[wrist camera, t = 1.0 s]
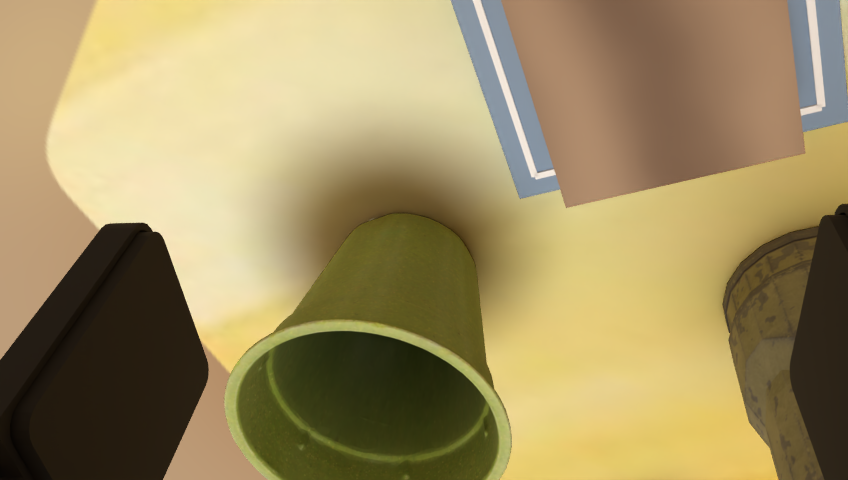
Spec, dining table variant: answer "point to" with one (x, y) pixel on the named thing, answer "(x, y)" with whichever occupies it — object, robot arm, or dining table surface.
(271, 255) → the dining table surface
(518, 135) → the blueprint mat
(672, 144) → the walnut plinth
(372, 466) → the plant pot
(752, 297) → the thermos
